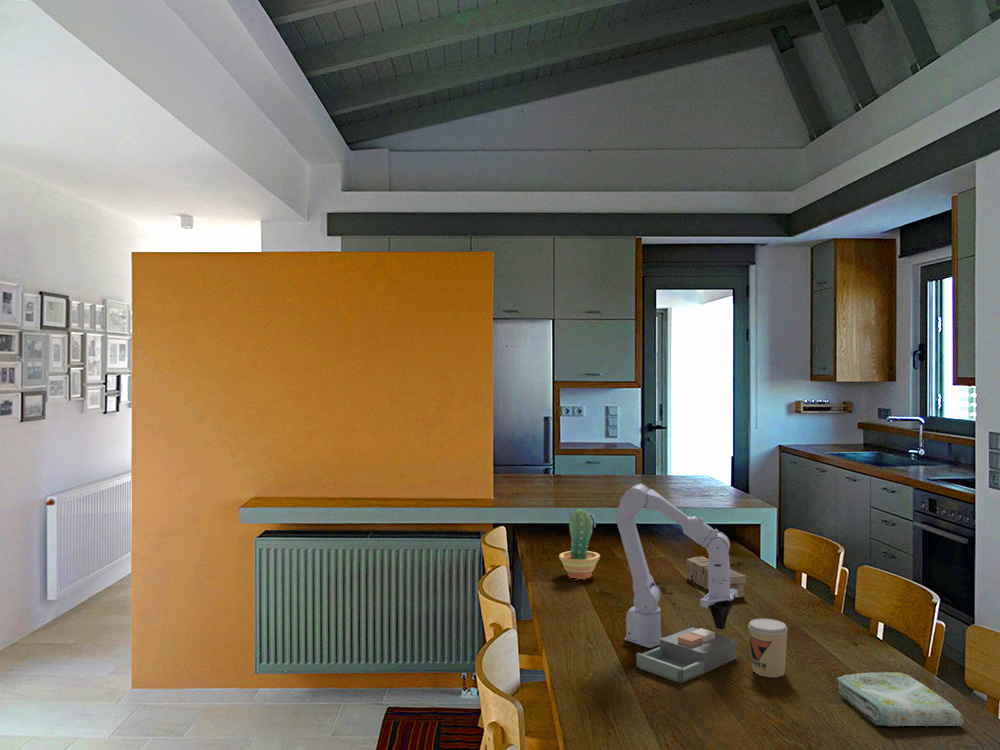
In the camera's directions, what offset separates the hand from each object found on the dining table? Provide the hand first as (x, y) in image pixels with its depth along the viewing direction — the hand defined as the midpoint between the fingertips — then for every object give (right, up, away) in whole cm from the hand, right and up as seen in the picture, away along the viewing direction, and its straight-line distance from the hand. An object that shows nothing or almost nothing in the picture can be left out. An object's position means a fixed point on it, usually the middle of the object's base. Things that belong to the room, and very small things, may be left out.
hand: (720, 628), depth 208 cm
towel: (+28, -6, -38) cm, 48 cm away
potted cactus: (-30, -7, +77) cm, 83 cm away
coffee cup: (+8, -6, -16) cm, 18 cm away
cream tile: (-6, -1, -5) cm, 8 cm away
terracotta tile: (-10, -1, -8) cm, 13 cm away
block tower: (+15, -6, +59) cm, 61 cm away
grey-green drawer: (-17, -6, -14) cm, 23 cm away
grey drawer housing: (-8, -6, -6) cm, 12 cm away
